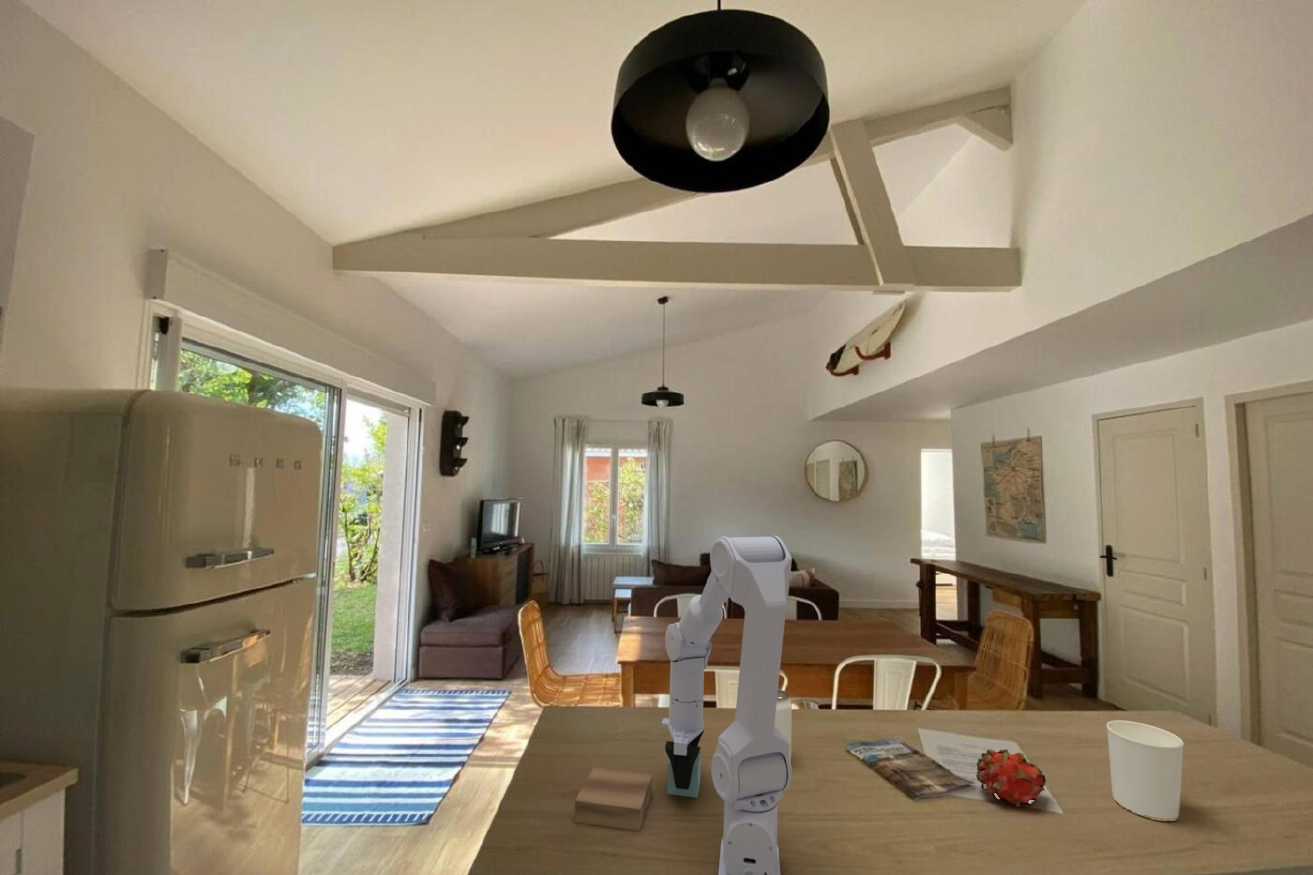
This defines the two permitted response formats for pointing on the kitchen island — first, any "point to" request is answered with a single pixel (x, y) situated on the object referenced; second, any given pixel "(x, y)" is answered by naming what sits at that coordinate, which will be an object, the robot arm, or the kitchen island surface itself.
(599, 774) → the walnut block
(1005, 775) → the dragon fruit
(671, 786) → the teal cube
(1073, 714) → the kitchen island surface
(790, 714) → the can
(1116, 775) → the candle holder
